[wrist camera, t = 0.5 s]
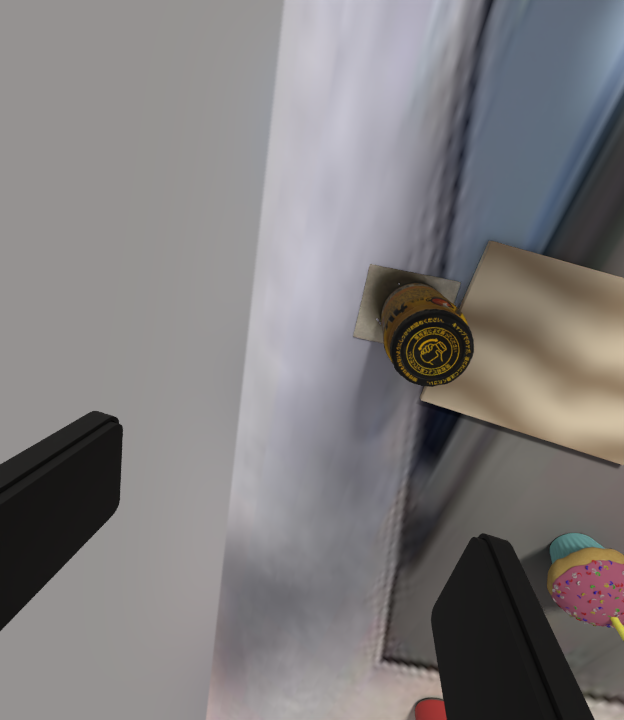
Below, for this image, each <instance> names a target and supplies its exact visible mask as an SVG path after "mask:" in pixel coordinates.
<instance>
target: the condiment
mask: <svg viewBox="0 0 624 720" xmlns="http://www.w3.org/2000/svg"><path fill="white" fill-rule="evenodd" d="M398 283H400V285H398ZM460 284H461V282H458V281H453V280H448V279H443V278H438V277H433V276H428V275H423V274H418V273H413V272H407V271H402V270H398V269H393V268H387V267H382V266H377V265H372V264H370V267H369V271H368V275H367V280H366V284H365V288H364V292H363V297H362V301H361V305H360V309H359V314H358V318H357V322H356V327H355V331H354V335H353V337H357V338H361V339H366V340H370V341H375V342H379V343H383V344H384V348H385V350H386V353H387V355H388V357H389V359H390V360H391V362H392V363H393V364H394V368H395V369H396V371H397V372H398V373H399V374H400V375H401V376H403V377H404V378H405V379H406V380H408V381H409V382H412V383H414V384H418V385H421V386H428V387H434V386H437V385H445V384H448V383H450V382H452V381H454V380H455V379H457V378H458V377H459V376H460V375H461V374H462V373H463V372H464V371H465V370H466V368H467V367H468V365H469V364H470V361H471V359H472V357H473V353H474V339H473V337H472V332H471V330H470V327H469V326H468V323H467V320H466V318H465V316H464V315H463V313H462V312H461V311H460V310H459V309H458V308H457V307H456V306H455V305H454V302H455V299H456V296H457V293H458V290H459V287H460ZM376 318H378V319H379V322H381V325H380V323H379V322H378V321H377V320H376Z"/></svg>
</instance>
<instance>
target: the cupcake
mask: <svg viewBox="0 0 624 720" xmlns="http://www.w3.org/2000/svg"><path fill="white" fill-rule="evenodd" d="M550 555H551V560H552V565H551V567H550V569H549V571H548V578H547V589H548V591H549V593H550V594H551V596H552V599H553V600H554V601H555V602H556V603H557V604H558V606H559V607H561V608H562V609H563V610H564V611H565V612H567V613H568V614H569V615H570V616H571V617H576V619H577V618H578V619H577V620H580V621H583V622H584V623H585V624H587V623H590V624H592V625H593V626H607V627H608V626H610V627H615V628H616V630H617V631H618V633H619V635H620V636H621V638H622V640H623V641H624V627H623V624H624V555H623V554H621V553H620V552H618V551H616V550H614V549H605V548H604V547H602V546H601V545H600V544H598V543H597V542H596V541H594V540H593V539H592V538H590V537H589V536H587V535H584V534H579V533H569V534H565V535H562V536H560V537H558V538H556V539H555V540H554V541H553V542H552V544H551V546H550Z"/></svg>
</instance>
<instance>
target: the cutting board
mask: <svg viewBox="0 0 624 720" xmlns="http://www.w3.org/2000/svg"><path fill="white" fill-rule="evenodd" d="M459 310H460V311H461V312H462V313H463V315H464V316H465V318H466V320H467V323H468V326H469V327H470V330H471V332H472V337H473V339H474V353H473V357H472V359H471V361H470V364H469V365H468V367H467V368H466V370H465V371H464V372H463V373H462V374H461V375H460V376H459V377H458V378H457V379H455V380H454V381H452V382H450V383H448V384H445V385H437V386H434V387H428V386H425V387H424V389H423V391H422V393H421V396H420V399H421V400H422V401H425V402H428V403H431V404H435V405H438V406H441V407H444V408H447V409H450V410H453V411H456V412H459V413H463V414H466V415H469V416H472V417H475V418H478V419H481V420H484V421H487V422H491V423H494V424H497V425H500V426H503V427H506V428H509V429H512V430H515V431H519V432H522V433H525V434H528V435H531V436H534V437H537V438H540V439H543V440H547V441H550V442H553V443H556V444H559V445H562V446H565V447H568V448H571V449H575V450H578V451H581V452H584V453H587V454H590V455H593V456H596V457H599V458H603V459H606V460H609V461H612V462H615V463H618V464H621V465H624V278H622V277H618V276H615V275H611V274H608V273H604V272H600V271H597V270H593V269H590V268H586V267H583V266H579V265H576V264H572V263H569V262H565V261H562V260H558V259H555V258H551V257H547V256H544V255H540V254H537V253H533V252H530V251H526V250H523V249H519V248H516V247H512V246H509V245H505V244H501V243H498V242H494V241H489V242H488V244H487V246H486V248H485V251H484V253H483V255H482V258H481V260H480V262H479V264H478V267H477V269H476V271H475V273H474V276H473V278H472V280H471V282H470V285H469V287H468V289H467V292H466V294H465V296H464V298H463V301H462V303H461V305H460V307H459Z"/></svg>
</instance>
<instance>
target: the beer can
mask: <svg viewBox="0 0 624 720" xmlns="http://www.w3.org/2000/svg"><path fill="white" fill-rule="evenodd" d="M415 717H416V720H447V718H446V712H445V706H444V700H441V699H437V698H427V699H424V700H422V701H420V702H419V703H418V704H417V706H416V708H415Z"/></svg>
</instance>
